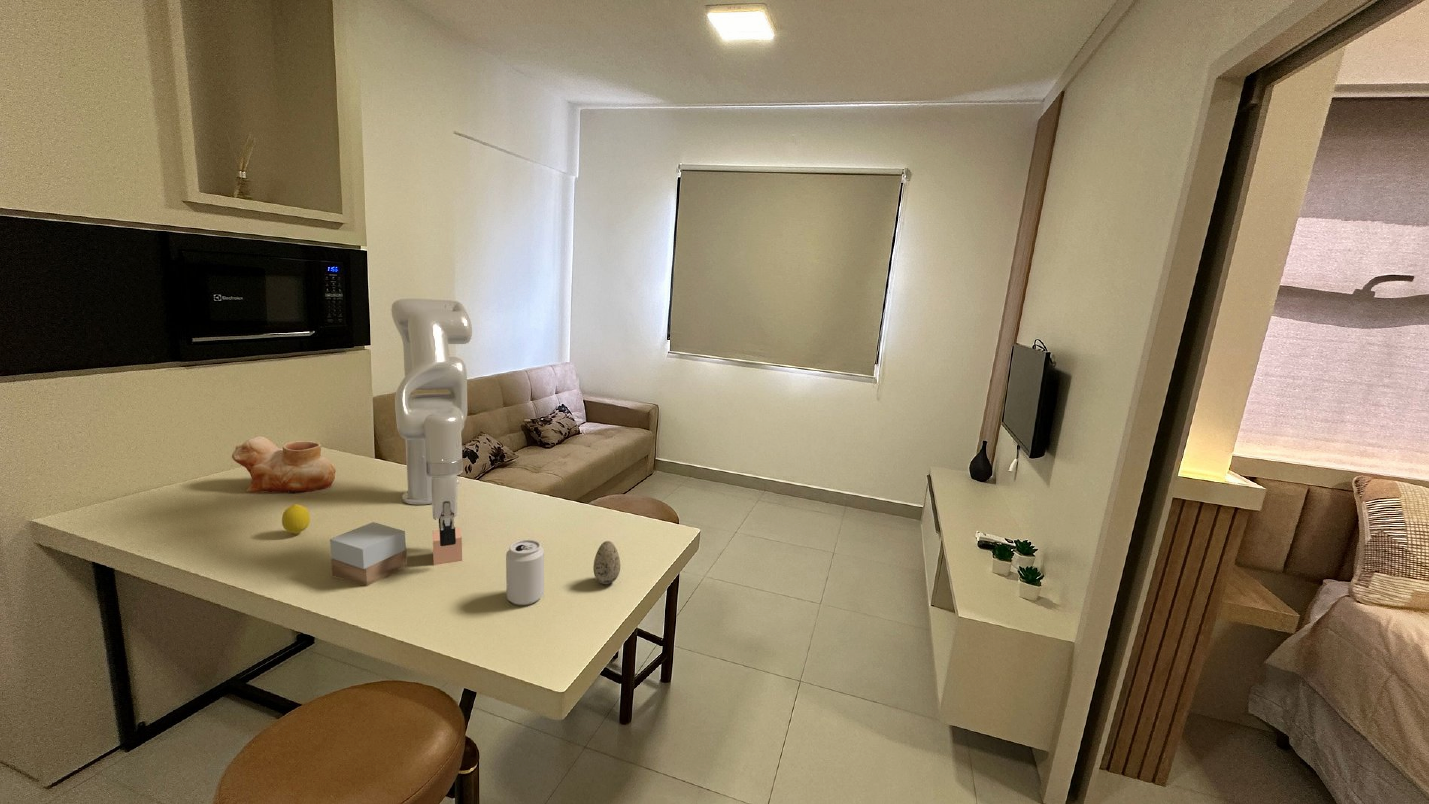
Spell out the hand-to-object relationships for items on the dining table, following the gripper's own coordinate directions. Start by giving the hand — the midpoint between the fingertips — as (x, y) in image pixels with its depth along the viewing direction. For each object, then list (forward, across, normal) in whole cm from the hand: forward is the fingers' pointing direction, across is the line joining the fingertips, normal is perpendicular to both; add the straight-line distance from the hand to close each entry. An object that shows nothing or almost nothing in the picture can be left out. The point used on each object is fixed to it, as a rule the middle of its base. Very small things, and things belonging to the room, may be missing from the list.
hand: (447, 536), depth 129 cm
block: (+6, -1, 0) cm, 6 cm away
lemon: (+5, -26, -33) cm, 42 cm away
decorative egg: (+6, +24, +31) cm, 40 cm away
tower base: (+6, 0, -16) cm, 17 cm away
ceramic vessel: (+4, -64, -42) cm, 77 cm away
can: (+6, +24, +14) cm, 28 cm away
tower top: (+1, 0, -16) cm, 16 cm away
